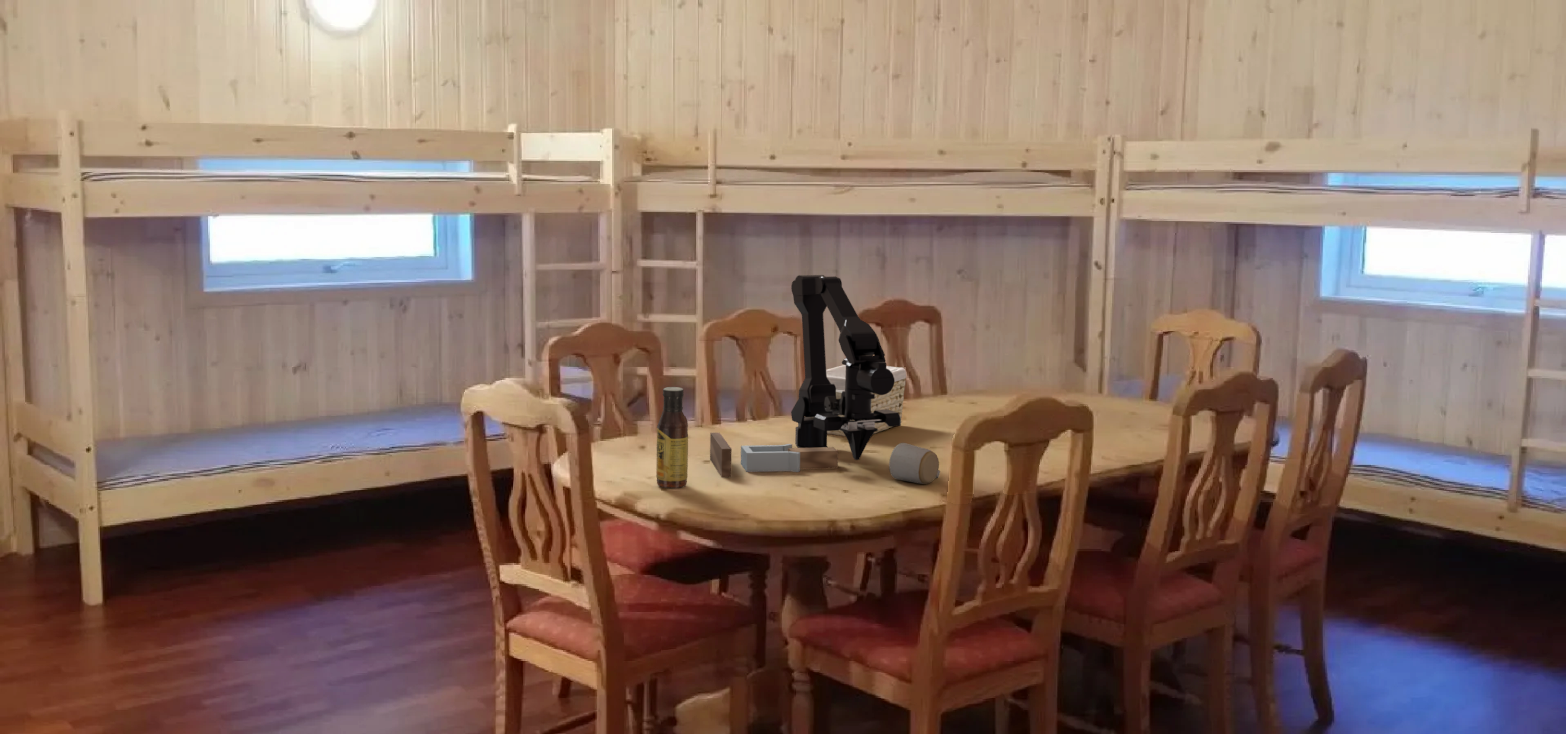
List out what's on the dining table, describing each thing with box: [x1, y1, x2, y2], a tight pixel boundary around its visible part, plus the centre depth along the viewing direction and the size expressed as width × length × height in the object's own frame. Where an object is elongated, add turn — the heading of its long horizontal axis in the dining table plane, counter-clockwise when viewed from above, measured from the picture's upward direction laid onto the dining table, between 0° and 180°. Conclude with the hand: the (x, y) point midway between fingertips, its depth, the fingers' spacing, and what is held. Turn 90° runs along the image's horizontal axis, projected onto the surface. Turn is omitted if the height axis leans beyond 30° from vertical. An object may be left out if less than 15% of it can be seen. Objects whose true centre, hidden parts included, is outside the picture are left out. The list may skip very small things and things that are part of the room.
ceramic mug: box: [888, 442, 941, 485], centre depth 298 cm, size 11×8×8 cm
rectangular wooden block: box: [788, 446, 839, 470], centre depth 310 cm, size 10×4×4 cm, turn 103°
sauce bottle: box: [655, 386, 689, 489], centre depth 288 cm, size 6×6×20 cm
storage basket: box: [826, 364, 907, 437], centre depth 355 cm, size 24×16×15 cm
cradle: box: [740, 443, 801, 473], centre depth 308 cm, size 11×11×4 cm
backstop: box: [709, 432, 733, 478], centre depth 306 cm, size 2×18×6 cm, turn 10°
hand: (856, 459), depth 312 cm, fingers closed
